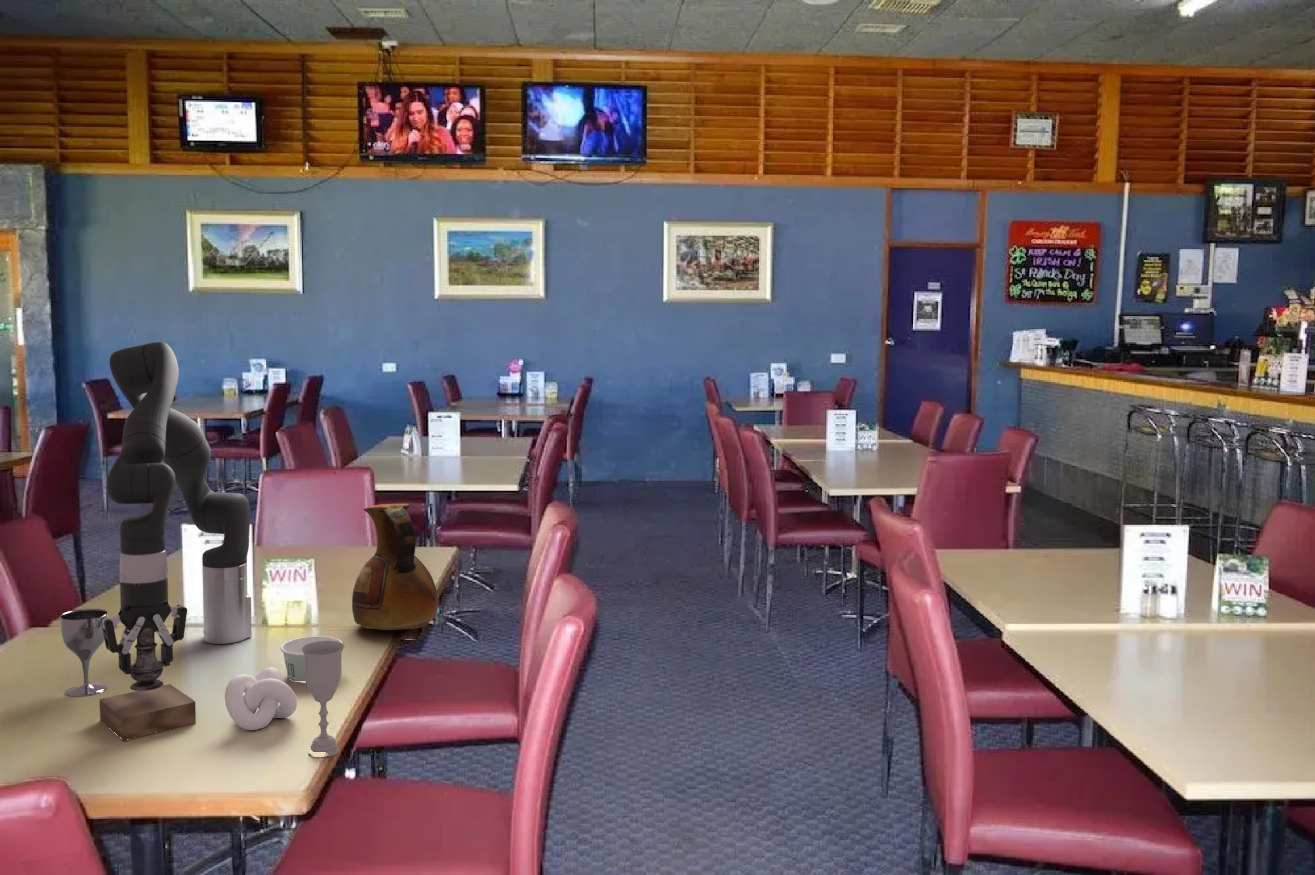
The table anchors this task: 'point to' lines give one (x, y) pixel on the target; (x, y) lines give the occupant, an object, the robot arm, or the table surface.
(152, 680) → the salt shaker
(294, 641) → the food container
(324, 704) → the chalice
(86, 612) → the silver goblet
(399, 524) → the ceramic pitcher
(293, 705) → the white knot sculpture
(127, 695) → the walnut base
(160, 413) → the robot arm
